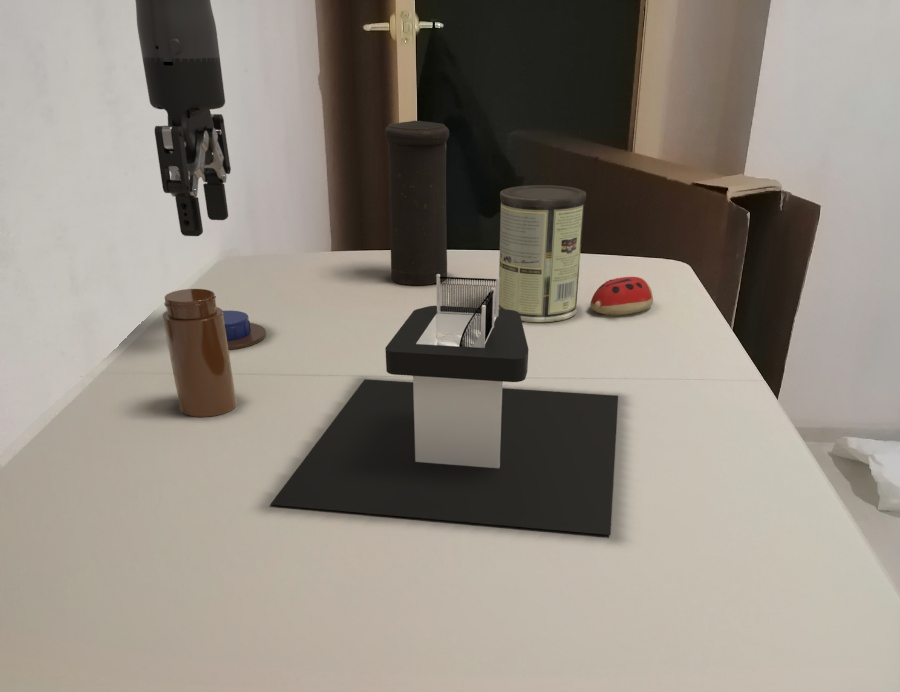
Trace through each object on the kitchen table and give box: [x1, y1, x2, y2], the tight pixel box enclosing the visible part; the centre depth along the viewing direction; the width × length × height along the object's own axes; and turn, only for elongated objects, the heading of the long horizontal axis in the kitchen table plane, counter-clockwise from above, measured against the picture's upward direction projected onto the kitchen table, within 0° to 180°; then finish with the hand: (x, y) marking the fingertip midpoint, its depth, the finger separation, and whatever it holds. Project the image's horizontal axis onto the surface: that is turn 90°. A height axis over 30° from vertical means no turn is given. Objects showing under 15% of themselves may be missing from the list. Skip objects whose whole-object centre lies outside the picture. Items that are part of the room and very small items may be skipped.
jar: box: [161, 288, 238, 418], centre depth 80 cm, size 5×5×11 cm
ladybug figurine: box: [590, 276, 654, 316], centre depth 109 cm, size 7×10×4 cm
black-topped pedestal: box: [270, 274, 619, 536], centre depth 71 cm, size 28×26×13 cm
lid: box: [222, 310, 251, 341], centre depth 100 cm, size 6×6×2 cm
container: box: [384, 120, 450, 286], centre depth 117 cm, size 9×9×20 cm
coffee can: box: [498, 184, 587, 323], centre depth 105 cm, size 10×10×14 cm
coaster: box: [227, 322, 267, 351], centre depth 100 cm, size 10×10×1 cm
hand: (205, 227), depth 93 cm, fingers open, 8 cm apart
